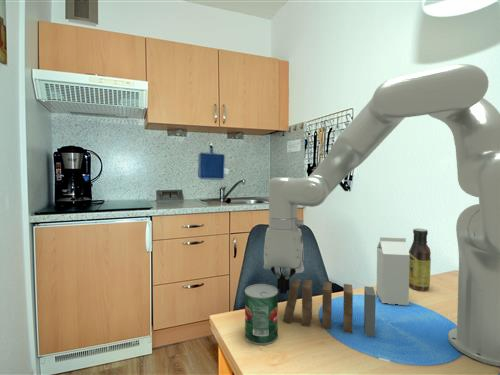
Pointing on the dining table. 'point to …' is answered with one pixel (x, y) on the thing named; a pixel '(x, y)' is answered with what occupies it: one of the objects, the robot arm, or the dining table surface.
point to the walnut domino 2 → (307, 303)
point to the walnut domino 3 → (326, 305)
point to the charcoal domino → (369, 311)
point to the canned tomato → (261, 314)
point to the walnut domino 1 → (291, 300)
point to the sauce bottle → (419, 261)
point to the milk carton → (393, 271)
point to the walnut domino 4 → (348, 308)
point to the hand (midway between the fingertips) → (283, 291)
